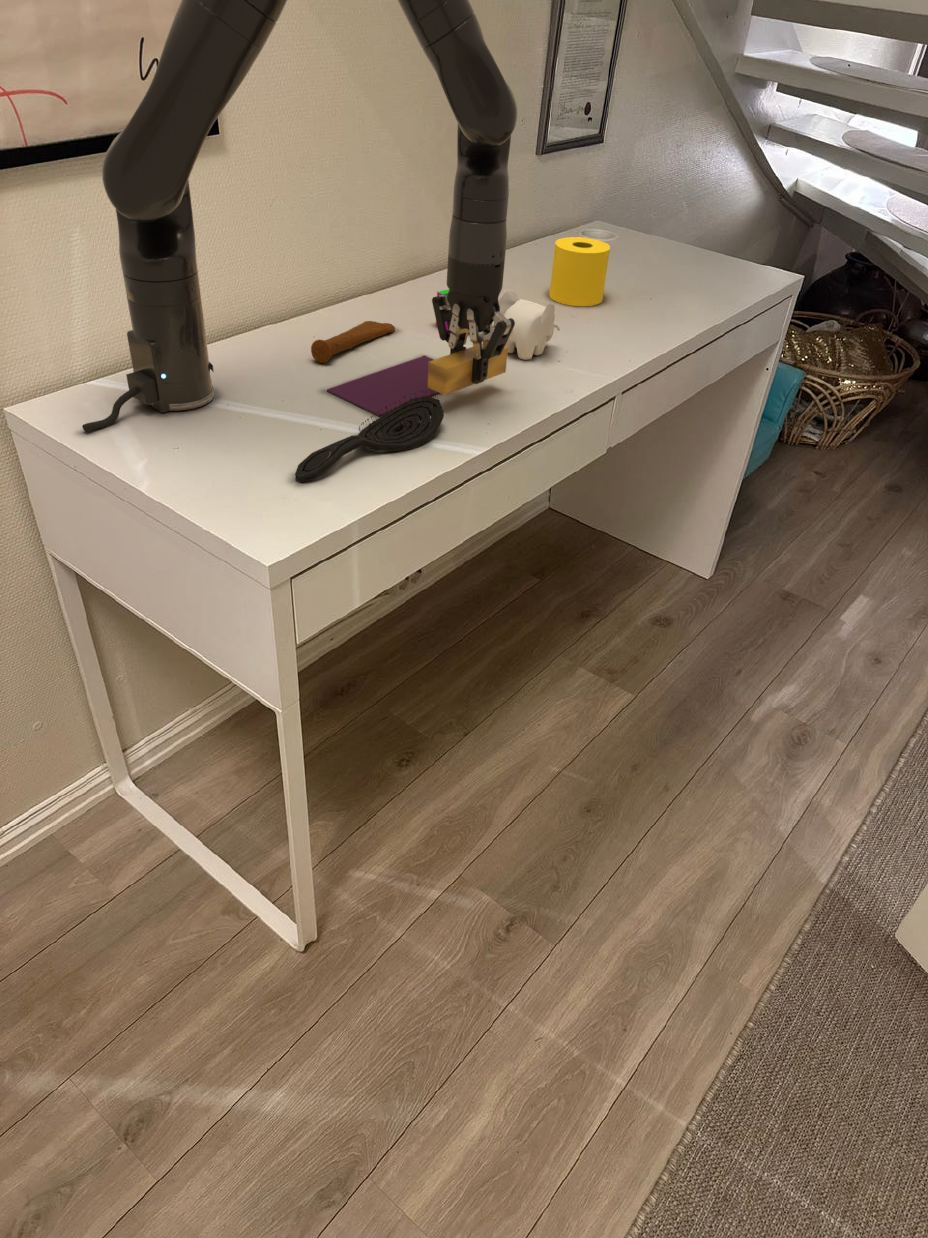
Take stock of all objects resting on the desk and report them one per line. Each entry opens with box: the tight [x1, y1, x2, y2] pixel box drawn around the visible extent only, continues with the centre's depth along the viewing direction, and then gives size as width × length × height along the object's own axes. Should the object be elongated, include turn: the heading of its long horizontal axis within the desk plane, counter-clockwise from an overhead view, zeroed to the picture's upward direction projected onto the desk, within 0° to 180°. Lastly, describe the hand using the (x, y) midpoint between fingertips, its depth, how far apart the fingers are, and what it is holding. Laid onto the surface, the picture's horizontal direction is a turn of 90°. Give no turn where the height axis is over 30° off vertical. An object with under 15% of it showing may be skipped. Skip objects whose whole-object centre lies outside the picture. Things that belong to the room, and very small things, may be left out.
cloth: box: [326, 355, 440, 417], centre depth 132 cm, size 20×11×1 cm, turn 137°
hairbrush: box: [294, 391, 445, 483], centre depth 115 cm, size 8×4×25 cm
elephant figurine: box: [498, 289, 561, 361], centre depth 143 cm, size 10×12×9 cm
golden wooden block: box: [428, 342, 509, 396], centre depth 127 cm, size 13×3×4 cm, turn 137°
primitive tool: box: [310, 320, 396, 364], centre depth 143 cm, size 19×6×4 cm, turn 156°
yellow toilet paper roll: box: [548, 236, 611, 307], centre depth 166 cm, size 10×10×9 cm
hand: (467, 377), depth 128 cm, fingers closed on golden wooden block, 3 cm apart
